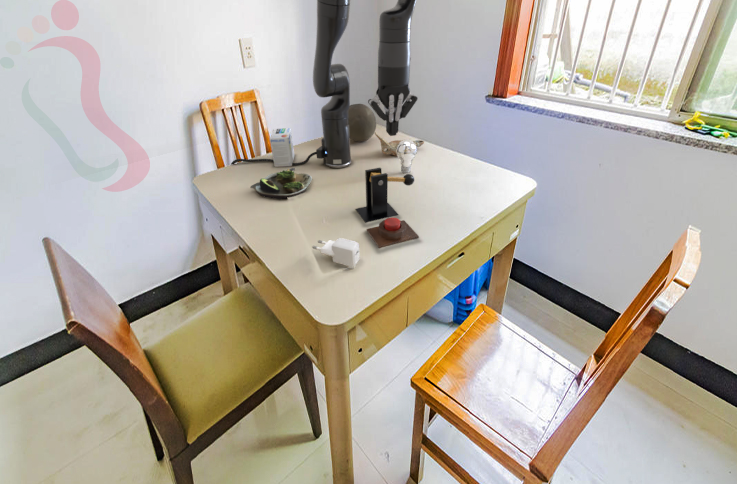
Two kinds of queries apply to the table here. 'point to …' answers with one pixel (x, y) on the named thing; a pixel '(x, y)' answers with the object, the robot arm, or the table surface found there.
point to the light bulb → (406, 154)
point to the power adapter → (341, 251)
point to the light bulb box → (282, 147)
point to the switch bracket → (376, 197)
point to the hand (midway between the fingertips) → (391, 134)
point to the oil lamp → (394, 145)
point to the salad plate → (283, 184)
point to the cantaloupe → (361, 122)
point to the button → (392, 224)
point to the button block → (391, 234)
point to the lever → (399, 179)
